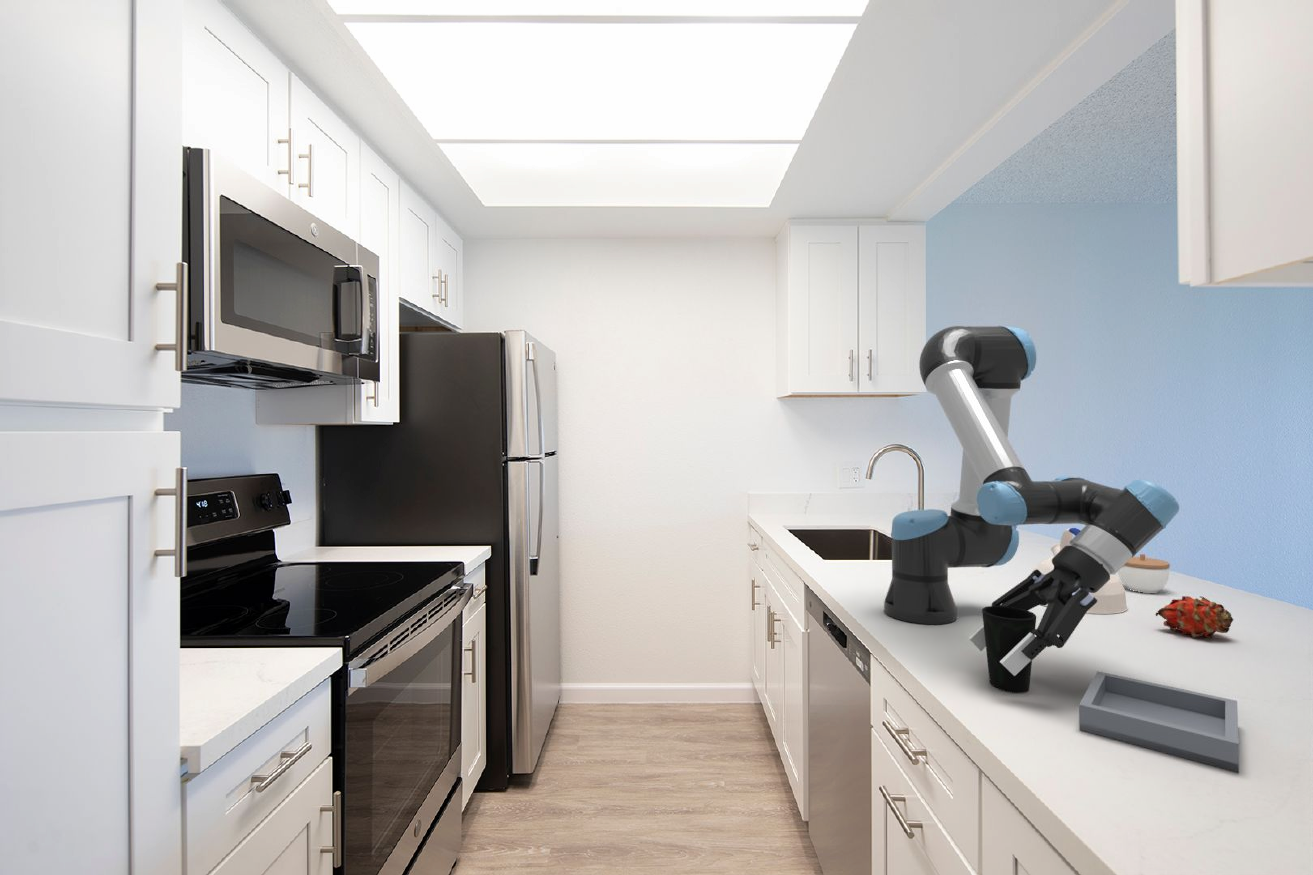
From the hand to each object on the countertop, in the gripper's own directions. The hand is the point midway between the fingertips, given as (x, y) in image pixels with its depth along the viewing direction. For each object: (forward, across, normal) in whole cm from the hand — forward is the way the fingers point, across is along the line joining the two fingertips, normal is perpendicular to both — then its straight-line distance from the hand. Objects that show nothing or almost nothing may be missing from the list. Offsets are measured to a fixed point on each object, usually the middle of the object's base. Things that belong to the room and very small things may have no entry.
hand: (989, 656), depth 100 cm
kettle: (-27, +50, -35) cm, 67 cm away
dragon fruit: (-34, +26, -41) cm, 59 cm away
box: (-8, -14, -15) cm, 22 cm away
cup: (+1, 0, -6) cm, 6 cm away
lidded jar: (-44, +62, -52) cm, 92 cm away
